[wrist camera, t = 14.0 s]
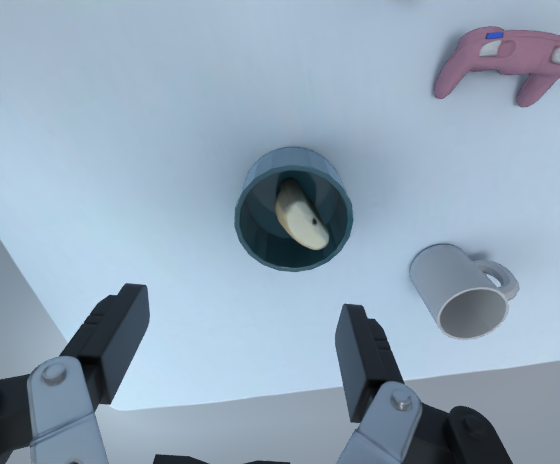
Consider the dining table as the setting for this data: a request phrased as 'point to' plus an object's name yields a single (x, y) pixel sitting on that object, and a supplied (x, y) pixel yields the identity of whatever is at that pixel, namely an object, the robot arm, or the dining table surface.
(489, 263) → the cup
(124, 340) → the robot arm
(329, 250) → the teal open cylinder
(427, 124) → the dining table surface
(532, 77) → the video game controller
